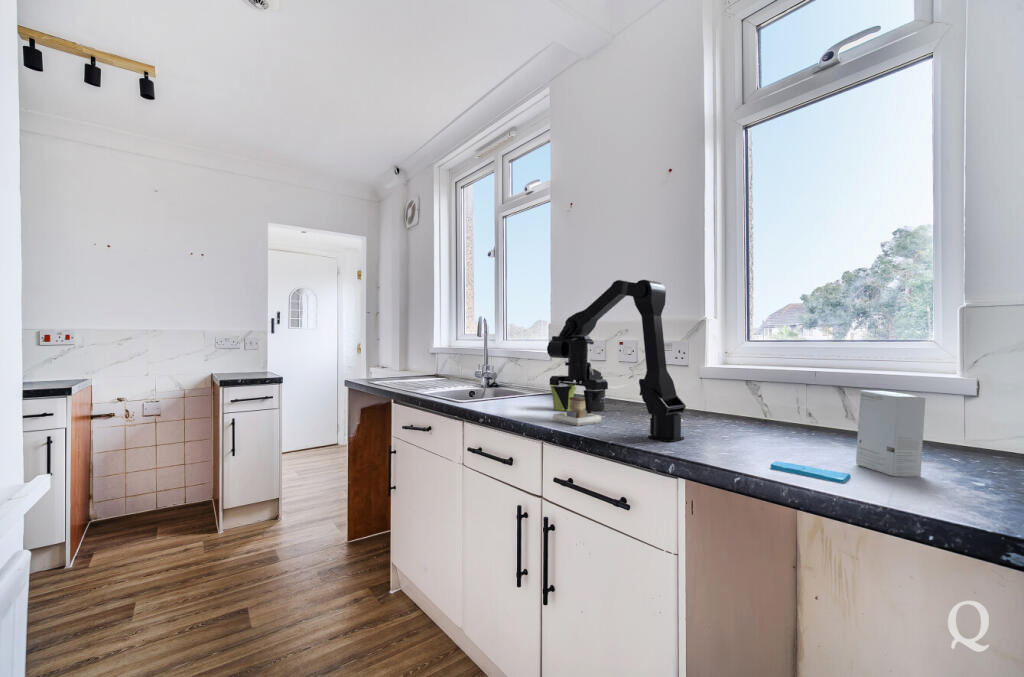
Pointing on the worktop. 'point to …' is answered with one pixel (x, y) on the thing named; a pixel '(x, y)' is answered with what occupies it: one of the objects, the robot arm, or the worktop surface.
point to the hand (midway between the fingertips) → (577, 411)
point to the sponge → (811, 472)
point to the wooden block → (577, 406)
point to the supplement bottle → (599, 401)
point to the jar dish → (571, 418)
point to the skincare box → (890, 432)
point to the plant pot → (556, 400)
